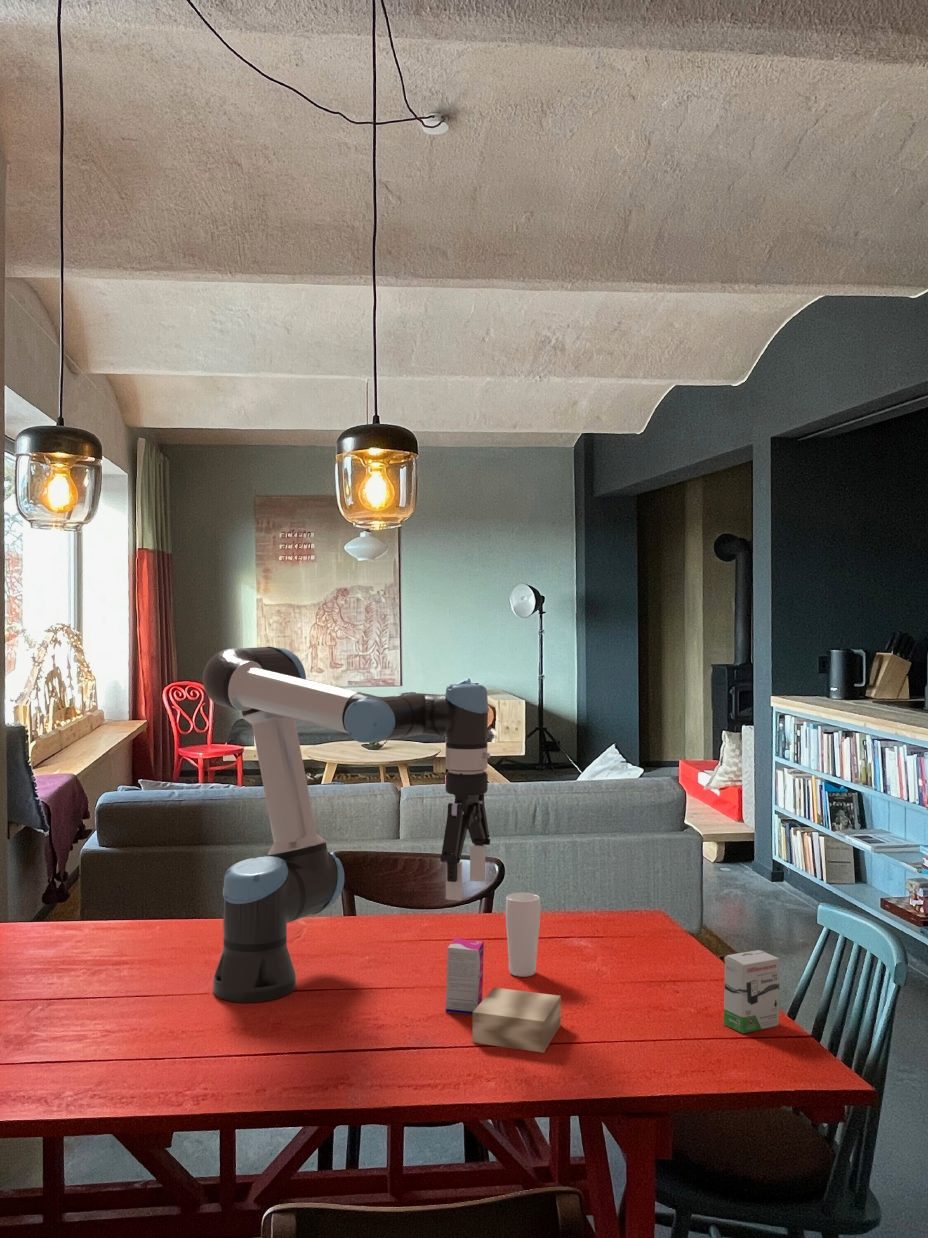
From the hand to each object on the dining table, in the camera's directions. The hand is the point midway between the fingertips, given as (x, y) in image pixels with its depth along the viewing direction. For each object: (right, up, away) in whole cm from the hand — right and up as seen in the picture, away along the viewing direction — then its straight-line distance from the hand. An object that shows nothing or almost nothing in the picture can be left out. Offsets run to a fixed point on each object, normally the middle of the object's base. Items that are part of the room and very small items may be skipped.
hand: (466, 890), depth 185 cm
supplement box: (0, -21, 0) cm, 21 cm away
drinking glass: (+11, -21, +18) cm, 30 cm away
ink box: (+49, -22, -7) cm, 54 cm away
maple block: (+9, -21, -11) cm, 25 cm away
